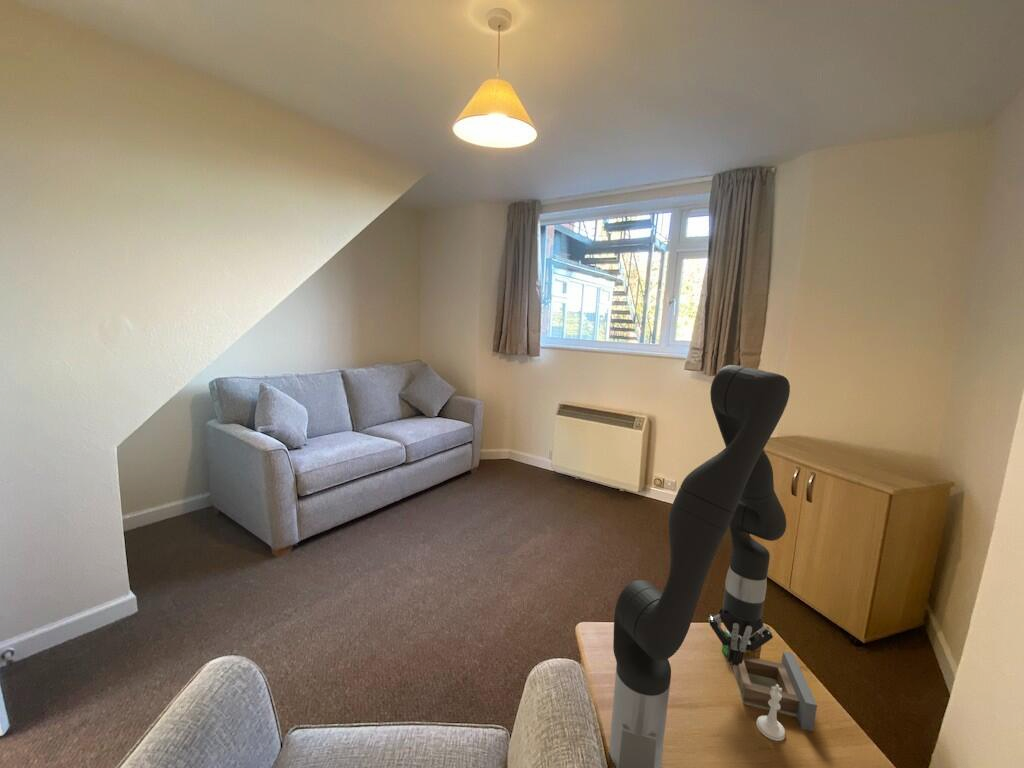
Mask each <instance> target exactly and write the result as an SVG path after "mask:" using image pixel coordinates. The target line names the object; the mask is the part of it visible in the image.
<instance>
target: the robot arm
mask: <svg viewBox="0 0 1024 768" xmlns="http://www.w3.org/2000/svg"><path fill="white" fill-rule="evenodd" d="M790 390H791V385H790V382H789V380H788V378H787V377H785V376H784V375H782V374H780V373H775V372H770V371H765V370H762V369H757V368H751V367H747V366H743V365H737V364H728V365H726V366H723V367H721V368H720V369H719V370H718V372H717V373H716V374H715V376H714V377H713V379H712V382H711V386H710V403H711V407H712V411H713V414H714V416H715V419H716V422H717V425H718V428H719V431H720V434H721V438H722V439H723V443H724V444H725V445H724V446H725V447H724V449H723V450H721V451H720V452H719V453H716V455H714V456H712V457H711V458H709V459H708V460H706V461H704V462H703V463H702V464H700V465H698V466H697V467H696V468H695V469H693V470H692V471H690V473H688V474H687V475H686V477H685V478H684V479H683V481H682V482H681V485H680V486H679V489H678V491H677V493H676V495H675V498H674V500H673V502H672V504H671V507H670V510H669V513H668V540H669V554H670V555H669V557H670V558H669V559H670V563H669V564H670V565H669V570H668V575H667V579H666V581H665V586H664V588H663V591H661V590H660V589H659V588H657V586H656V585H654V584H652V583H651V582H649V581H647V580H644V579H637V580H632V581H631V582H629V583H627V584H626V586H624V587H623V588H622V590H621V591H620V593H619V594H618V595H619V596H618V597H617V600H616V603H615V608H614V617H613V643H612V644H613V647H612V649H613V650H612V651H613V655H614V658H615V662H616V666H615V668H616V669H615V679H614V686H613V687H614V689H613V698H612V699H613V700H612V701H613V702H612V713H611V723H610V734H609V735H610V737H609V738H610V739H609V748H608V749H609V756H610V760H611V761H612V763H614V764H615V765H614V764H613V765H614V767H615V766H616V767H615V768H662V761H663V753H664V742H665V732H666V724H667V714H668V706H669V705H668V703H669V697H670V696H669V695H670V689H671V688H670V687H671V678H672V668H671V664H670V661H669V659H670V658H672V656H674V655H675V654H677V651H678V650H679V649H680V648H681V646H682V644H683V643H684V641H685V639H686V636H687V634H688V633H689V630H690V628H691V624H692V621H693V618H694V614H695V611H696V608H697V605H698V602H699V599H700V596H701V592H702V590H703V586H704V584H705V581H706V579H707V577H708V576H707V575H708V573H709V571H710V568H711V566H712V563H713V562H714V559H715V557H716V554H717V551H718V550H719V548H720V545H721V544H722V542H723V538H724V537H725V535H726V533H727V531H728V528H729V534H730V542H731V555H730V561H729V568H728V570H727V574H726V578H725V584H724V585H725V586H724V593H723V600H722V601H723V602H722V606H721V608H720V609H719V610H718V613H717V614H715V615H713V614H709V615H707V619H708V621H709V625H710V627H711V629H712V631H714V633H715V635H716V636H717V637H718V639H719V641H720V642H721V644H722V645H727V646H728V650H727V656H728V657H727V656H726V657H727V660H728V662H730V665H736V666H739V664H741V663H742V661H743V655H744V652H745V650H750V651H751V652H753V651H755V650H756V649H758V648H759V647H760V646H761V647H762V646H764V645H765V644H766V643H767V642H769V641H771V640H772V639H773V638H774V637H773V634H772V632H771V629H770V627H768V626H766V625H765V624H764V621H763V619H762V617H763V613H764V612H763V611H764V607H765V606H764V605H765V599H766V595H767V594H766V593H767V586H768V585H767V579H768V571H769V564H770V558H771V556H770V552H769V550H768V549H767V548H766V547H765V546H764V545H763V544H761V543H760V542H758V541H756V540H755V539H754V538H753V537H752V536H755V537H757V538H760V539H762V540H765V541H768V542H772V541H774V542H775V541H777V540H780V539H781V538H782V537H783V536H784V534H785V533H786V529H787V518H786V513H785V511H784V508H783V506H782V504H781V502H780V500H779V498H778V496H777V493H776V491H775V485H774V483H775V482H774V472H773V471H774V470H773V465H772V463H771V461H770V459H769V457H768V454H767V453H766V451H765V450H764V448H766V445H767V443H768V442H769V440H770V438H771V436H772V435H773V433H774V431H775V429H776V428H777V425H778V424H779V422H780V419H781V418H782V416H783V414H784V411H785V409H786V407H787V405H788V402H789V398H790V392H791V391H790ZM751 535H752V536H751ZM721 623H723V625H724V626H725V628H726V630H728V631H729V637H728V636H726V634H725V633H724V629H722V627H721V626H722V624H721Z"/></svg>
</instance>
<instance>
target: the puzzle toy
mask: <svg viewBox="0 0 1024 768" xmlns="http://www.w3.org/2000/svg"><path fill="white" fill-rule="evenodd" d="M723 631H724V633H725V634H726V636H728V637H729V631H728V630H727V629H725V630H724V629H723ZM727 650H728V646H727V645H723V644H722V646H721V652H722V653H723V654H724V655H725V656H726V657H727V658H728V656H727ZM761 653H762V646H760V647H759V648H758V649H756V650H755V651H753V652H751V651H750V650H745V652H744V656H748V657H753V658H757V659H761V658H760V657H761Z"/></svg>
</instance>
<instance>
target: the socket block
mask: <svg viewBox="0 0 1024 768" xmlns="http://www.w3.org/2000/svg"><path fill="white" fill-rule="evenodd" d="M732 669H733V672H734V675H735V679H736V683H737V686H738V687H737V688H738V691H739V694H740V698H741V702H742V705H747V706H751V707H755V708H759V709H763V710H767V711H770V708H771V707H770V706H769V704H768V701H769V700H771V695H770V691H771V690H772V686H774V687H775V686H776V684H778V685H779V688H782V692H781V691H778V692H779V693H780V694H781V695H782V698H781V700H780V701H779V704H780V707H781V708H780V709H779V710H777V713H780V714H784V715H788V716H792V717H795V718H797V717H796V716H797V710H798V704H799V700H798V698H797V695H796V693H795V691H794V688H793V686H792V683H791V681H790V679H789V676H788V674H787V671H786V669H785V667H784V664H781V663H780V662H776V661H771V660H765V659H761V658H760V659H757V658H753V657H748V656H744V655H743V661H742V663H741V664H739V666H736V665H733V666H732Z"/></svg>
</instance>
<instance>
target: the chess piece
mask: <svg viewBox="0 0 1024 768" xmlns="http://www.w3.org/2000/svg"><path fill="white" fill-rule="evenodd" d="M778 691H781V692H782V688H779V685H778V684H776V686H775V687H774V686H772V690H771V691H770V695H771V700H769V701H768V704H769V706H770V707H771V708H770V710H768V711H769V712H768V714H766V715H764V714H762V715H759V716H758V717H757V719H756V727H757V729H758V730H759V732H760V733H761V734H763V736H765V737H766V738H768V739H770V740H772V741H776V742H779V741H780V742H781V741H783V740H784V739H785V738H786V730H785V727H784V726H783V725H782V723H781V722H779V721H778V719H777V718H778V717H777V715H778V712H777V710H779V709H780V708H781V707H780V704H779V701H780V700H781V698H782V695H781V694H780V693H779V692H778Z"/></svg>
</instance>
